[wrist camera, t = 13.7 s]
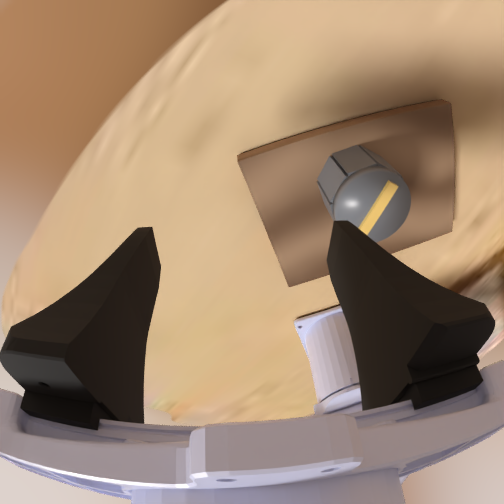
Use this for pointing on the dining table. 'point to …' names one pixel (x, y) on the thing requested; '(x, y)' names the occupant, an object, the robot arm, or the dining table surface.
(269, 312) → the dining table surface
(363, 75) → the dining table surface
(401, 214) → the grey control knob
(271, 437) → the robot arm
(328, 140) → the stud board
